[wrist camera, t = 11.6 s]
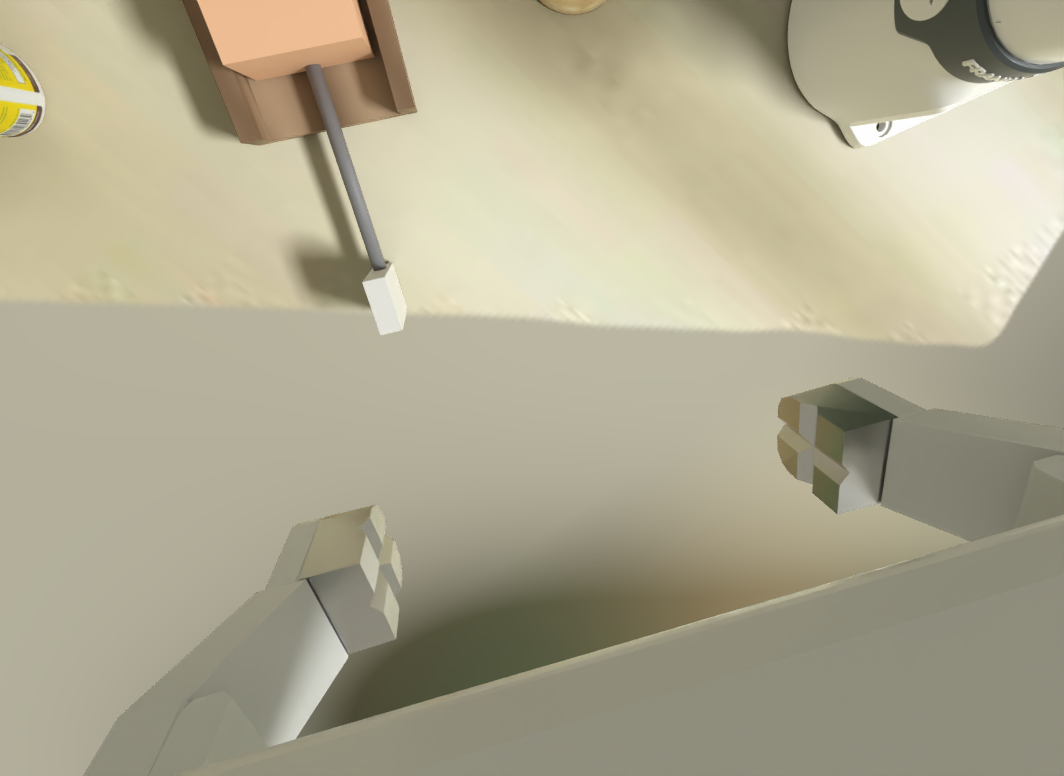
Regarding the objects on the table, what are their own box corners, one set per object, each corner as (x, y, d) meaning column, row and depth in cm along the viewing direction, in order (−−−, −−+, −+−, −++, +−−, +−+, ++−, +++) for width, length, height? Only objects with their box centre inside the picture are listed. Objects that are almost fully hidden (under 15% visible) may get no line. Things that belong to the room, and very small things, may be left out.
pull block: (345, -49, 31) (323, -100, 26) (444, 300, 42) (444, 321, 36) (220, -26, 31) (168, -72, 25) (351, 322, 41) (336, 347, 35)
